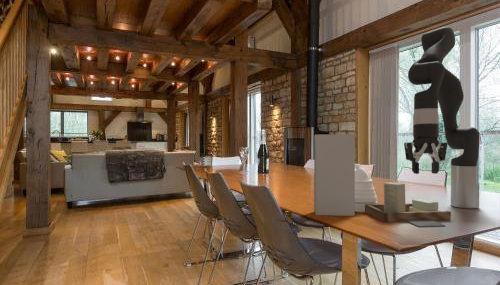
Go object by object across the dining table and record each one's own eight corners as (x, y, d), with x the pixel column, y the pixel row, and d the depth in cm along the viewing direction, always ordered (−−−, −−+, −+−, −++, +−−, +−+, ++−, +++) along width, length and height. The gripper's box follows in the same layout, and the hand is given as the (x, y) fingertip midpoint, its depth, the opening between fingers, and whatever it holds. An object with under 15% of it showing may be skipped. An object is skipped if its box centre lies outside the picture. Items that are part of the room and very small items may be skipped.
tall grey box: (351, 212, 126) (351, 134, 125) (354, 215, 120) (355, 134, 120) (314, 211, 127) (314, 134, 127) (315, 214, 121) (315, 134, 121)
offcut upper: (422, 206, 125) (422, 198, 125) (438, 210, 118) (438, 202, 118) (412, 207, 123) (412, 199, 123) (427, 211, 116) (427, 202, 116)
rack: (423, 210, 129) (423, 203, 129) (450, 220, 113) (450, 211, 113) (365, 212, 126) (365, 204, 126) (384, 221, 111) (384, 213, 111)
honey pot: (337, 207, 136) (337, 164, 136) (361, 204, 141) (361, 163, 141) (359, 213, 124) (359, 166, 124) (384, 210, 130) (384, 165, 129)
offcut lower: (426, 214, 125) (426, 206, 125) (442, 219, 116) (442, 211, 116) (409, 214, 124) (409, 206, 124) (424, 220, 116) (424, 211, 116)
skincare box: (406, 217, 118) (406, 183, 118) (397, 218, 116) (398, 184, 116) (391, 213, 124) (391, 181, 123) (383, 215, 121) (383, 182, 121)
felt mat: (431, 221, 112) (431, 219, 112) (445, 226, 105) (445, 225, 105) (406, 221, 111) (406, 220, 111) (418, 227, 104) (418, 225, 104)
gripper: (438, 123, 113) (438, 172, 113) (398, 123, 111) (398, 172, 111) (454, 122, 105) (453, 174, 105) (411, 122, 104) (411, 174, 104)
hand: (425, 173), depth 108 cm, fingers open, 6 cm apart
